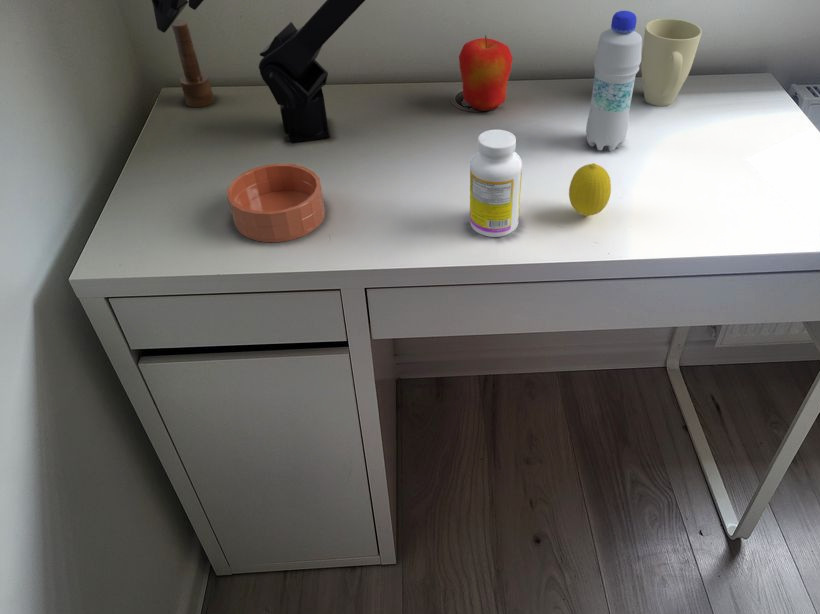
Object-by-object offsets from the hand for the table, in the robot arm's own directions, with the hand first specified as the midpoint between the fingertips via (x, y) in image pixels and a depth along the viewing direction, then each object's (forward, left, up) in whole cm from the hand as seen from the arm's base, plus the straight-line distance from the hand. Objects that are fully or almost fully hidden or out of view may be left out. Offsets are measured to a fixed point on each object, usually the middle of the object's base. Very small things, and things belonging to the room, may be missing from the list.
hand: (177, 18), depth 106 cm
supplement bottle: (-38, +40, -16) cm, 58 cm away
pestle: (+1, -7, -16) cm, 17 cm away
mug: (-76, +12, -16) cm, 79 cm away
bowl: (-10, +31, -16) cm, 37 cm away
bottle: (-61, +23, -16) cm, 67 cm away
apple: (-46, +6, -16) cm, 49 cm away
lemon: (-51, +41, -16) cm, 68 cm away
